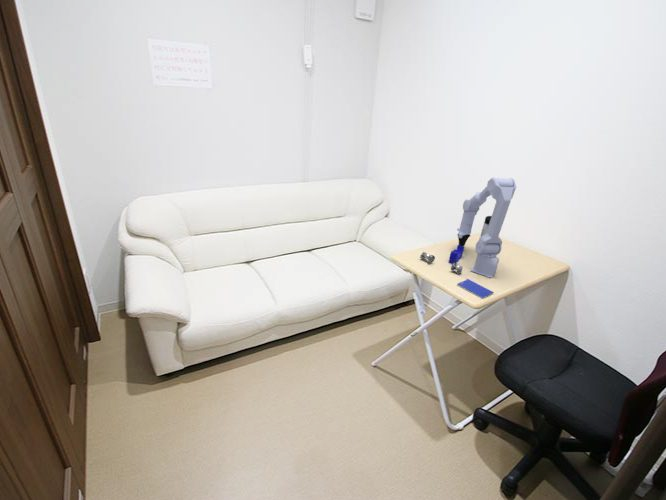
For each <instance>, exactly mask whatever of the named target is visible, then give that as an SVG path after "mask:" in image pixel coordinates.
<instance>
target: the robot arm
mask: <svg viewBox="0 0 666 500" xmlns="http://www.w3.org/2000/svg"><path fill="white" fill-rule="evenodd" d="M516 189H517V184H516V181H515V179H513V178H511V177H510V178H502V177H501V178H500V177H491V178H489V180H487V184H486V187H484V189H483V190H481V191H479V192H478V191H477V192H476V193H475V194H474V195H473V196H472V197H471V198H470V199H465V200H464V201H463V203H462V211H463V213H462V218H461V221H460V224H459V225H460V226H459V228H458V227H457V229H456V231H458V233H457V234H456V235H457V238H458V245H460V246H463V247H464V248H465V245H466V243H467V241H468V239H469V238H470V237H471V234H472V228H473V224H474V221H475V218H476V217H475V216H477V214H478V212H479V211H480V207H481V206H482V205H483V204H485V203H486V202H487V198H488V197H490V196H491V197H492V199H494V200H495V204H494V207H493V211H492V214H491V216H492V217H491V220H490V223H489V226H488V229H487V232H486V234H484V235H483V236H481V235H480V236H481V237H480V236H479V239H478V241H477V242H476V244H475V251H476V253H477V256H476V259H475V264H474V266H473V267H472V269H470V271H471V272H472V273H476V274H478V275H481V276H484V277H487V278H493V276H494V275H495V274H496V273H497V268H498V265H499V261H500V258H499V257H497V255H499V254H500V253H501V252H502V244H503V240H502V239H501V237H500V236H499V235H500V232H501V230H502V228H503V225H504V221H505V218H506V216H507V213H508V210H509V206H510V204H511V200H512V199H513V197H514V195H515V191H516Z"/></svg>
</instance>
